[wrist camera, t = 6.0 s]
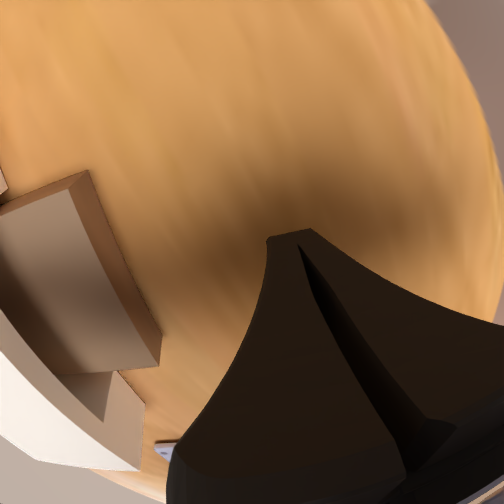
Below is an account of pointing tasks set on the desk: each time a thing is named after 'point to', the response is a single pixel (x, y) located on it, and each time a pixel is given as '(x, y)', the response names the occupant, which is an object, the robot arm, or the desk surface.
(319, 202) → the desk surface
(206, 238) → the desk surface
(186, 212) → the desk surface
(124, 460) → the white shelf
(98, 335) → the walnut panel
